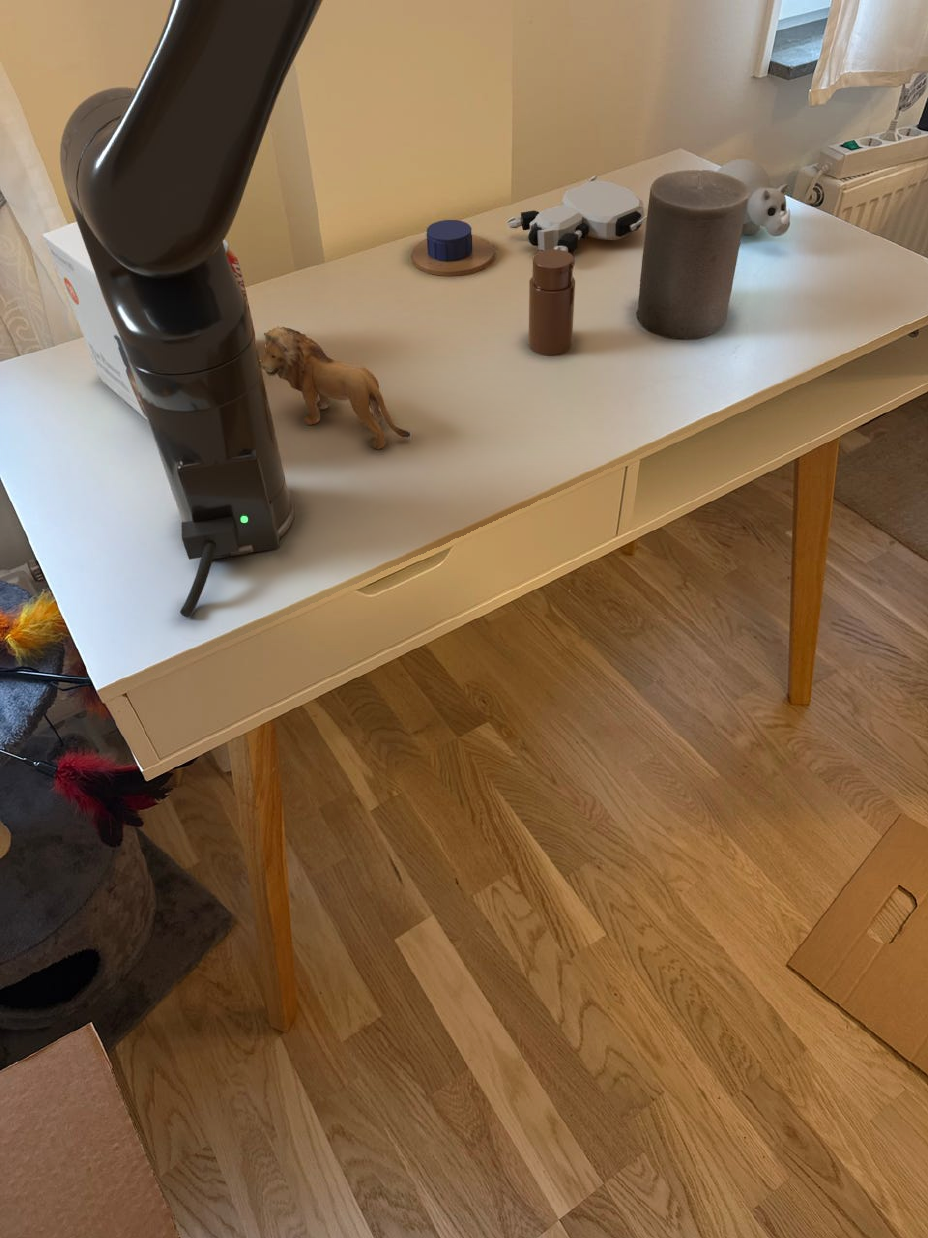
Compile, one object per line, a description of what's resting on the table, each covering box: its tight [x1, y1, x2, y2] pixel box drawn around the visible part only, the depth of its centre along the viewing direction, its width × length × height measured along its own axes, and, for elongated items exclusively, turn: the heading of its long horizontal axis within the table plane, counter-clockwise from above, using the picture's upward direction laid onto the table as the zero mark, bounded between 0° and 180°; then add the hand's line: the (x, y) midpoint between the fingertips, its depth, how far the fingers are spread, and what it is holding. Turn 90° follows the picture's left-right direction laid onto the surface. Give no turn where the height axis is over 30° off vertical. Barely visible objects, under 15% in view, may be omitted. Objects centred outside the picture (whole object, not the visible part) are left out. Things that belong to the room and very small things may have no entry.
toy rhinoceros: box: [716, 158, 791, 237], centre depth 110 cm, size 7×12×8 cm, turn 29°
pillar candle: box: [636, 169, 751, 340], centre depth 96 cm, size 10×10×15 cm
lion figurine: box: [259, 326, 412, 450], centre depth 87 cm, size 15×5×9 cm, turn 66°
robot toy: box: [507, 175, 647, 255], centre depth 113 cm, size 12×4×15 cm
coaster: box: [411, 234, 495, 277], centre depth 113 cm, size 10×10×1 cm
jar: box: [527, 249, 576, 356], centre depth 95 cm, size 5×5×9 cm
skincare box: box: [42, 220, 148, 422], centre depth 86 cm, size 21×6×16 cm, turn 42°
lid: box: [426, 219, 473, 262], centre depth 112 cm, size 5×5×3 cm
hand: (239, 8), depth 81 cm, fingers open, 8 cm apart
